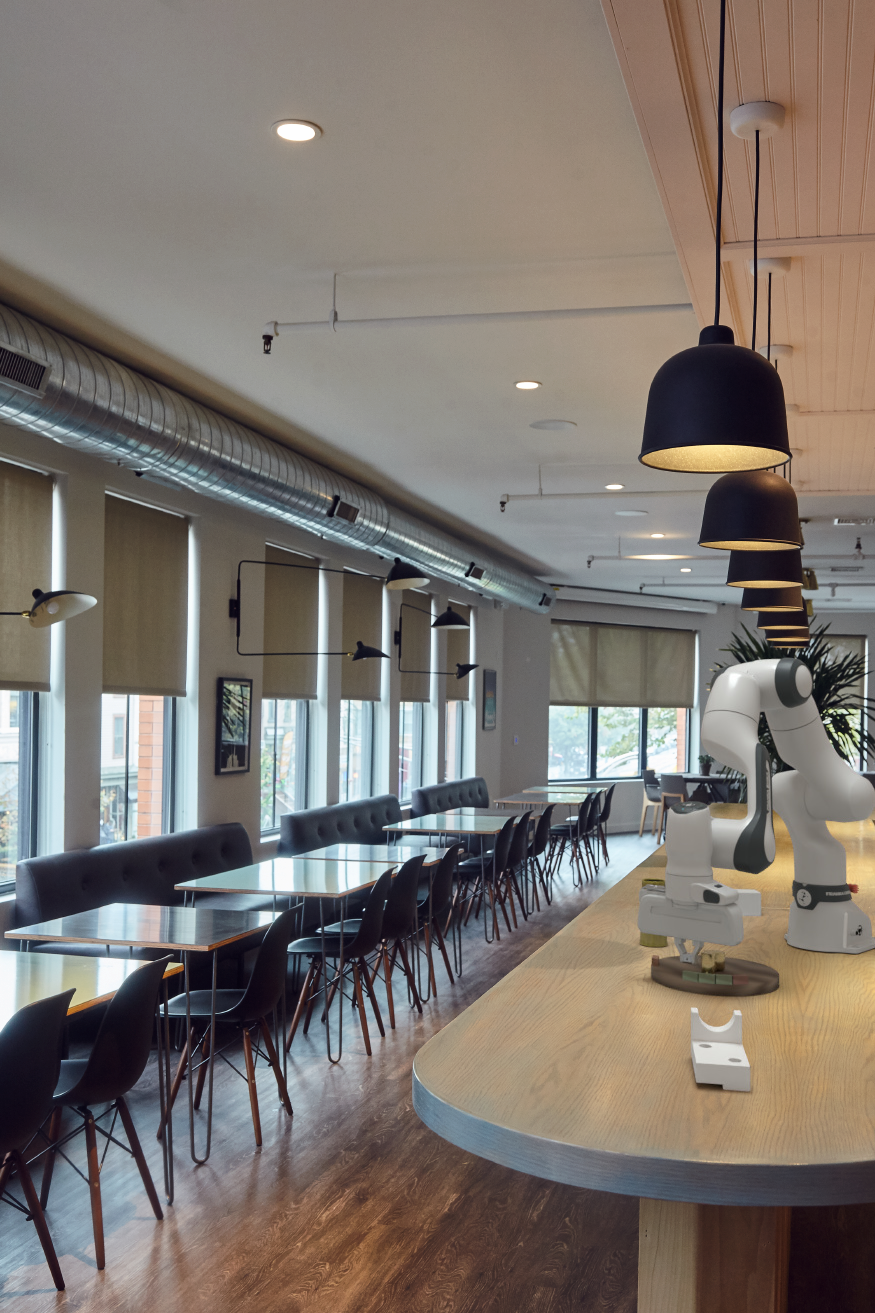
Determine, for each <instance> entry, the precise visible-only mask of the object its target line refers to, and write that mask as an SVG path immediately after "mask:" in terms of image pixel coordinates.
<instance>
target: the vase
mask: <svg viewBox="0 0 875 1313" xmlns="http://www.w3.org/2000/svg"><path fill="white" fill-rule="evenodd" d="M647 884H652V885H660V886H665V879H663V878H653V877H652V878H651V877H649V878H642V879H641V888H642V887H644V886H646V885H647ZM644 889H646V888H644ZM646 890H647V889H646ZM639 932H640V935H639V944H640V945H641V946H643V947H648V948H665V947H667V946H668V936H661V935H654V934H648V933H642V932H641V931H639Z"/></svg>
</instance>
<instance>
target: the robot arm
mask: <svg viewBox="0 0 875 1313" xmlns="http://www.w3.org/2000/svg"><path fill="white" fill-rule="evenodd" d="M813 689H814V680H813V675H812V672H811V670H810V667H809V666H808V665H806V663H805V662H803V661H802V660H801V659H799V658H793V657H783V658H771V659H769V658H767V659H757V660H754V661H747V662H743V663H739V664H735V665H734V664H729V665H726V666H722V667H721V668H720V669H718V670H716V672H715V673H714V674H713V676H712V677H711V680H710V684H709V695H708V698H707V701H706V703H705V704H706V705H705V709H704V713H703V718H702V722H701V730H700V740H701V743H702V746H703V749H704V750H705V752H706V753H707V754H708V755H709V756H710V757H711V758H713V759H714V760H715V761H716V762H718V763H720V764H722V765H724V766H725V767H729V768H730V769H733V770H735V771H737V772H738V773H741V774H743V775H744V776H746V777H745V778H746V781H747V783H746V784H747V789H746V790H747V791H746V792H747V815H746V816H745V817H743V818H742V819H732V818H719V817H713V816H712V815H711V810H710V807H709V805H708V804H706V803H704V802H701V801H692V800H690V801H681V802H677V803H674V804H673V805H671V806H670V807H669V809H668V813H667V818H666V824H665V839H664V840H665V841H664V846H665V847H664V849H665V853H666V858H667V862H666V866H665V872H664V874H665V875H664V877H665V879H664V880H665V886H660V885H652V884H647V885H646V886H644V887H642V886H641V888H640V889H639V891H638V903H639V907H638V912H637V929H638V930H639V932H642V933H648V934H654V935H661V936H667V938H674V939H673V942H674V943H673V944H674V946H675V948H676V949H677V952H678V953H679V956H680V962H682V963H688V964H693V965H696V964H698V955H699V954H701V952H702V949H703V948H704V946H705V943H708V944H713V945H714V944H715V945H722V946H727V947H728V946H729V947H735V946H739V945H740V944H741V943H742V942H743V941H744V930H745V929H744V920H743V916H742V912H741V909H740V907H739V906H738V905H737V904H736V903H734V902H736V901H737V900H738V898H739V893H738V891H737V890H735V889H736V888H733V887H731V886H728V885H726V884H725V883H721V881H718V880H716V879H714V870H713V868H714V869H723V870H730V871H731V870H734V871H738V872H743V873H747V874H752V875H759V874H760V873H762V872H764V871H765V870H767V868H769V867H770V866H771V865H773V863H775V862H774V861H775V859H776V849H777V848H776V847H777V846H776V836H775V828H774V813H773V812H775V813H776V814H777V815H778V816H779V817H780V819H781V820H782V821H783V823H784V825H785V826H786V829H787V832H788V834H789V837H790V841H791V844H792V845H791V846H792V850H793V867H794V868H793V869H794V879H793V880H792V882H791V883H792V884H791V885H792V886H791V890H792V891H791V892H792V893H791V895H792V897H793V901H792V902H791V903H790V906H789V912H788V913H789V914H788V923H787V924H788V928H787V933H784V940H785V941H786V943H787V944H788V945H789V946H792V947H795V948H798V949H802V950H803V949H804V950H809V951H816V952H826V953H843V954H844V953H845V954H860V953H863V952H867V951H870V950H873V949H875V937H874V936H873V930H872V920H871V918H870V916H869V915H867V913H865V912H864V911H863V910H862V908H860V907H859V906H858V905H857V904H856V902H854V901H853V900H852V899H853V898H852V897H853V895H852V893H853V894H858V892H859V889H860V888H859V885H858V884H856V883H855V884H852V883H847V851H846V848H845V846H844V845H843V843H842V842H840V841H839V840H838V839H837V838H835V837H834V836H833V835H832V834H831V832H830V830H829V829H828V824H827V822H836V823H854V822H860V821H865V820H867V819H868V818H869V817H871V815H872V813H873V812H874V809H875V788H874V786H873V784H872V783H871V781H870V780H869V779H868V778H866V777H864V776H862V775H860V774H859V773H858V772H856V770H854V769H853V768H851V766H849V765H848V764H847V763H846V762H845V760H844V759H843V758H842V757H841V756H840V755H839V754H838V752H837V751H836V749H835V748H834V746H833V745H832V742H831V741H830V739H829V737H828V734H827V731H826V729H825V726H824V723H823V721H822V718H821V715H820V713H819V709H818V707H817V703H816V701H815V699H814V697H813V695H812V693H813ZM761 713H764V715H765V718H766V721H767V726H768V728H769V731H770V733H771V737H772V739H773V743H774V745H775V748H776V751H777V754H778V757H780V759H781V760H782V761H783V762H784V763H785V764H787V765H789V766H790V767H792V768H793V769H794V770H786V771H782V772H781V771H780V772H777V773H774V775H773V776H772V763H771V761H772V760H771V757H770V753H769V751H768V749H767V747H766V746H765V745H763V744H762V743H761V742H760V739H759V736H758V730H759V725H760V724H759V723H760V714H761ZM644 888H646V889H647V890H646V889H644ZM686 940H688V941H692V946H693V947H694V948H693V950H692V952H689V951H688V950H687V949H686V947H685V944H684V943H686V942H687V941H686Z"/></svg>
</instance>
